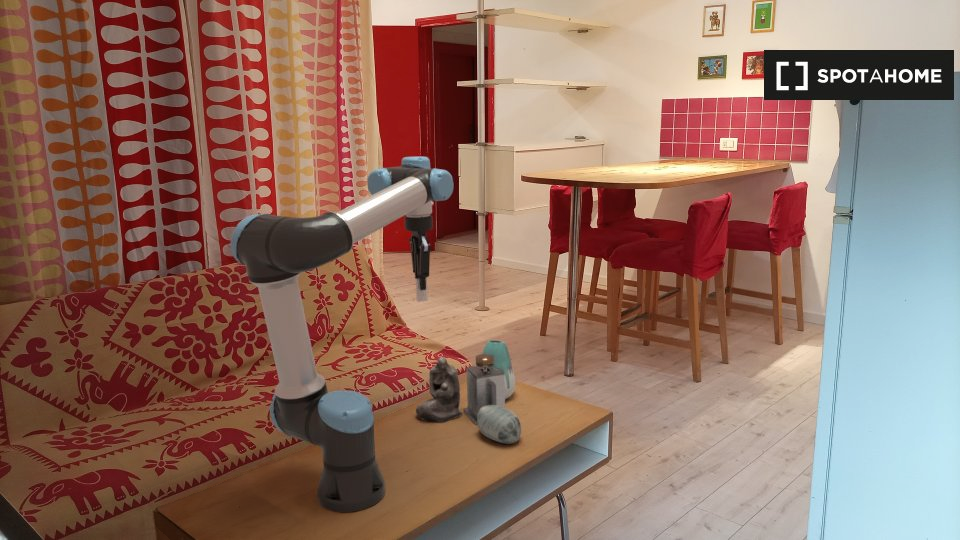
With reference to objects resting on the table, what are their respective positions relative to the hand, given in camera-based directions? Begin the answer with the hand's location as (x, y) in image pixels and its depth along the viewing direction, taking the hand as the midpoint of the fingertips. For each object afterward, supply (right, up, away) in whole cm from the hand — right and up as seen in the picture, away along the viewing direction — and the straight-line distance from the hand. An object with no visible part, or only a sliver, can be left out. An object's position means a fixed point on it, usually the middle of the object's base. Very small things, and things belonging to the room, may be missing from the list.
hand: (422, 300), depth 198 cm
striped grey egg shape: (+21, -36, -6) cm, 42 cm away
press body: (+18, -33, +8) cm, 38 cm away
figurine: (+5, -33, +8) cm, 35 cm away
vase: (+21, -30, +20) cm, 42 cm away
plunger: (+18, -29, +7) cm, 34 cm away
